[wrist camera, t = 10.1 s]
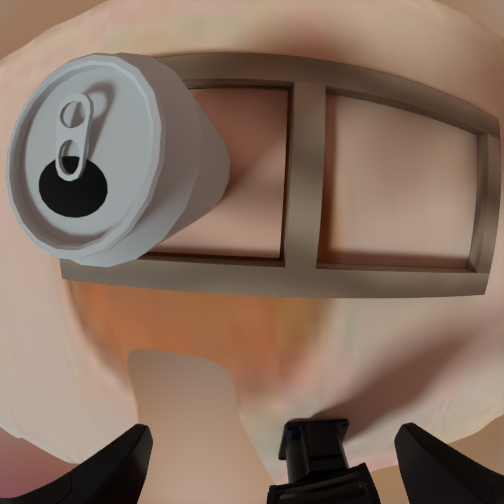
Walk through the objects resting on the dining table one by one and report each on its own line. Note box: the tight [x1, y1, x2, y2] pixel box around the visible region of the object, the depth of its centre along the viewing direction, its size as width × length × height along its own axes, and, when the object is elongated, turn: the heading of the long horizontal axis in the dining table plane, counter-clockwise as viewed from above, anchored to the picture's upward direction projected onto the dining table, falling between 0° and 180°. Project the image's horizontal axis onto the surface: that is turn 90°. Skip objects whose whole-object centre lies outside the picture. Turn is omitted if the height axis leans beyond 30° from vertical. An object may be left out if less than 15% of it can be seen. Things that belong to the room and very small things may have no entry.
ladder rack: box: [60, 53, 501, 298], centre depth 17 cm, size 16×36×2 cm, turn 87°
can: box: [6, 53, 230, 267], centre depth 12 cm, size 8×8×12 cm
